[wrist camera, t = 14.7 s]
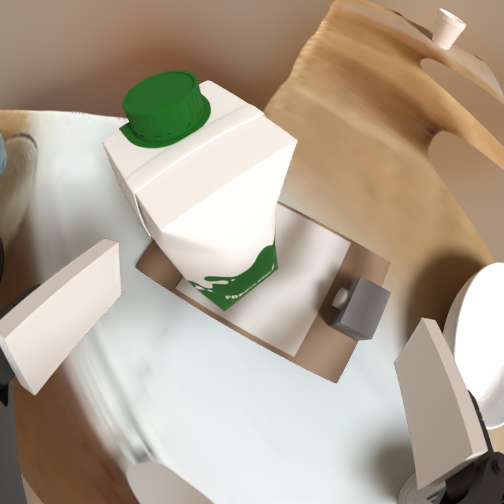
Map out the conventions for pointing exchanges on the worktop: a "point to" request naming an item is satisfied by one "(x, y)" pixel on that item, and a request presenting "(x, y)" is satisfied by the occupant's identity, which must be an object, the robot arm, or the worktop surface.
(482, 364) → the serving bowl
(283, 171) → the soya milk
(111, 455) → the worktop surface
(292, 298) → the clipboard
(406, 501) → the white pitcher
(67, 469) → the worktop surface
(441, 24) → the foam cup
